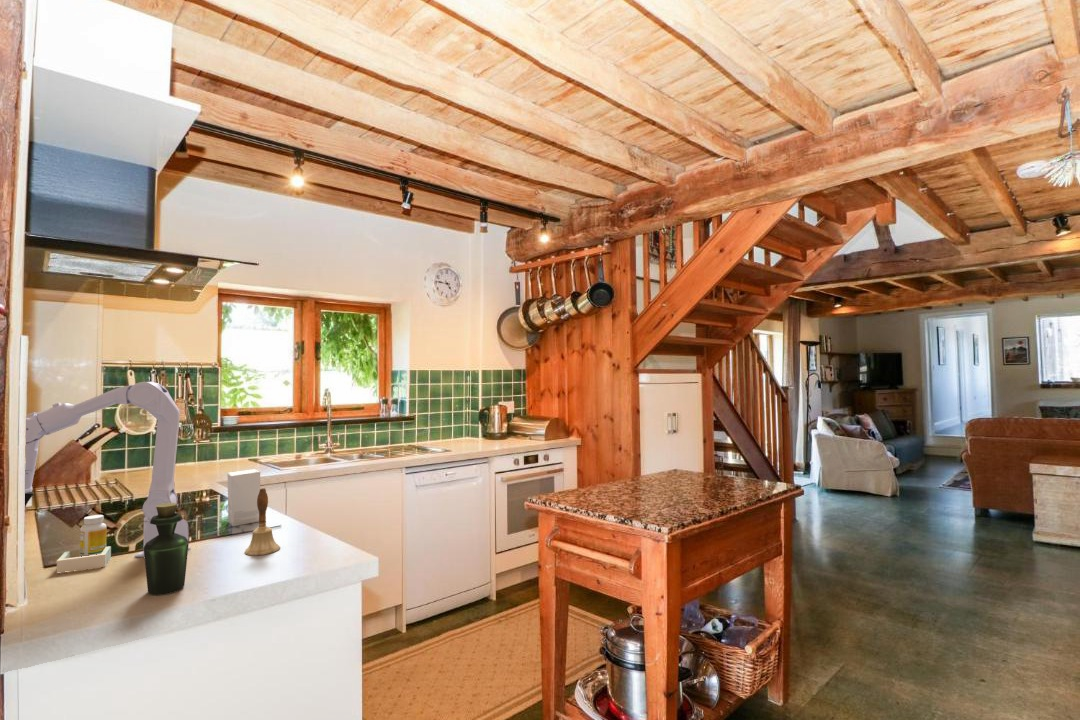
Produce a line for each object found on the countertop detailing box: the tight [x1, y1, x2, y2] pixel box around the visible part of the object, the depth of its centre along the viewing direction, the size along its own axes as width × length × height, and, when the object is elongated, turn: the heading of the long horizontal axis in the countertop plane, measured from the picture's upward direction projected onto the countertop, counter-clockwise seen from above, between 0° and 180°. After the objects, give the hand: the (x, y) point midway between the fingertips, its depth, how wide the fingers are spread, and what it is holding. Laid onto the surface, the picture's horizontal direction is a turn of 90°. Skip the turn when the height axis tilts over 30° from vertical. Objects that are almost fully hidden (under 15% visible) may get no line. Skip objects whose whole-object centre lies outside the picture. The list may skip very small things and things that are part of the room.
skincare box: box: [226, 468, 261, 527], centre depth 176 cm, size 8×7×16 cm
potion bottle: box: [143, 502, 190, 596], centre depth 121 cm, size 8×8×18 cm
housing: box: [56, 545, 112, 573], centre depth 137 cm, size 8×9×3 cm
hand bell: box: [244, 487, 281, 556], centre depth 148 cm, size 8×8×16 cm
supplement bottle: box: [79, 514, 108, 556], centre depth 145 cm, size 5×5×10 cm
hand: (8, 527), depth 133 cm, fingers open, 7 cm apart
